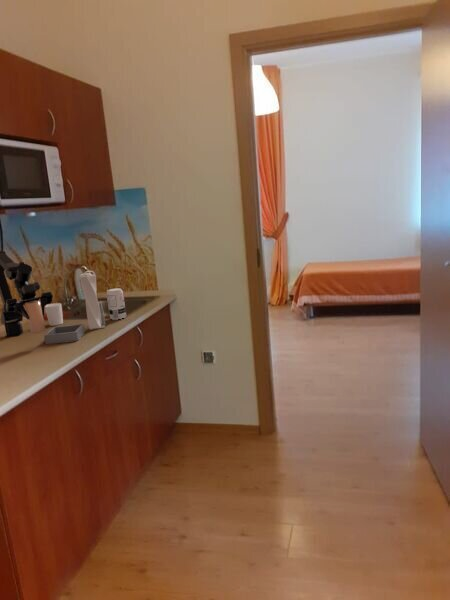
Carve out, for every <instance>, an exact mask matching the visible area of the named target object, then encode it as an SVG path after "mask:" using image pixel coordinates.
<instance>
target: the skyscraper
mask: <svg viewBox="0 0 450 600" xmlns="http://www.w3.org/2000/svg"><path fill="white" fill-rule="evenodd" d="M79 279H80V283H81V284H80V285H81V288H82V292H83V296H84V298H85V308H86V309H85V311H86V317H87V322H88V323H87V324H88V329H89V331H93V330H94V329H95V330H100V328H102V329H105V328H106V326H105V325H107V323H106V318H105V313H104V308H103V304H102V301H101V299H100V300H98V296H97V293H98V291H97V290H98V289H97V276H96V273H95V271H93V270H87V271H85V272H84V273H82V274H79ZM99 303H100V304H99Z"/></svg>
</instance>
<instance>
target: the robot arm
mask: <svg viewBox="0 0 450 600" xmlns="http://www.w3.org/2000/svg"><path fill="white" fill-rule="evenodd" d="M32 272H33V268H32V266H31V265H29V264H28V263H25V262H23V261H22V262H18V263H17V262H14V261H13V260H12V259H11V258H10V257H9V256H8V255H7V253H6V251H5V250H0V299H1V303H2V307H1V310H0V311H1V314H0V323H1V325H3V326H4V328H5V336H4V337H5V338H9V337H19V336H20V335H22V334H23V333H24V330H23V325H22V323H21V322H23V317H24V318H25V319H26V320H28V319H29V316H28V314H27V311H26V307H25V303H26V302H29V301H34V300H40V303H41V308H42V314H43V317H45V306H46V305H49V304H52V303H53V297H54V295H53V293H52V292H51V291H47V292H41V294H40V296H39V297H38V296H37V293H36V292H37V291H39V290H40V289H41V286H40V285H41V284H40V283H39V281H34V282H33V283H30V282H29V281H30V280H31V277H32ZM7 279H8V280H9V281H12V280H13V285H14V289H15V290H16V292H17V294H18V298H19V299H17V298H16V297H14V298H13V296H12V292H11V290H10V286H9V283H8V280H7Z"/></svg>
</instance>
